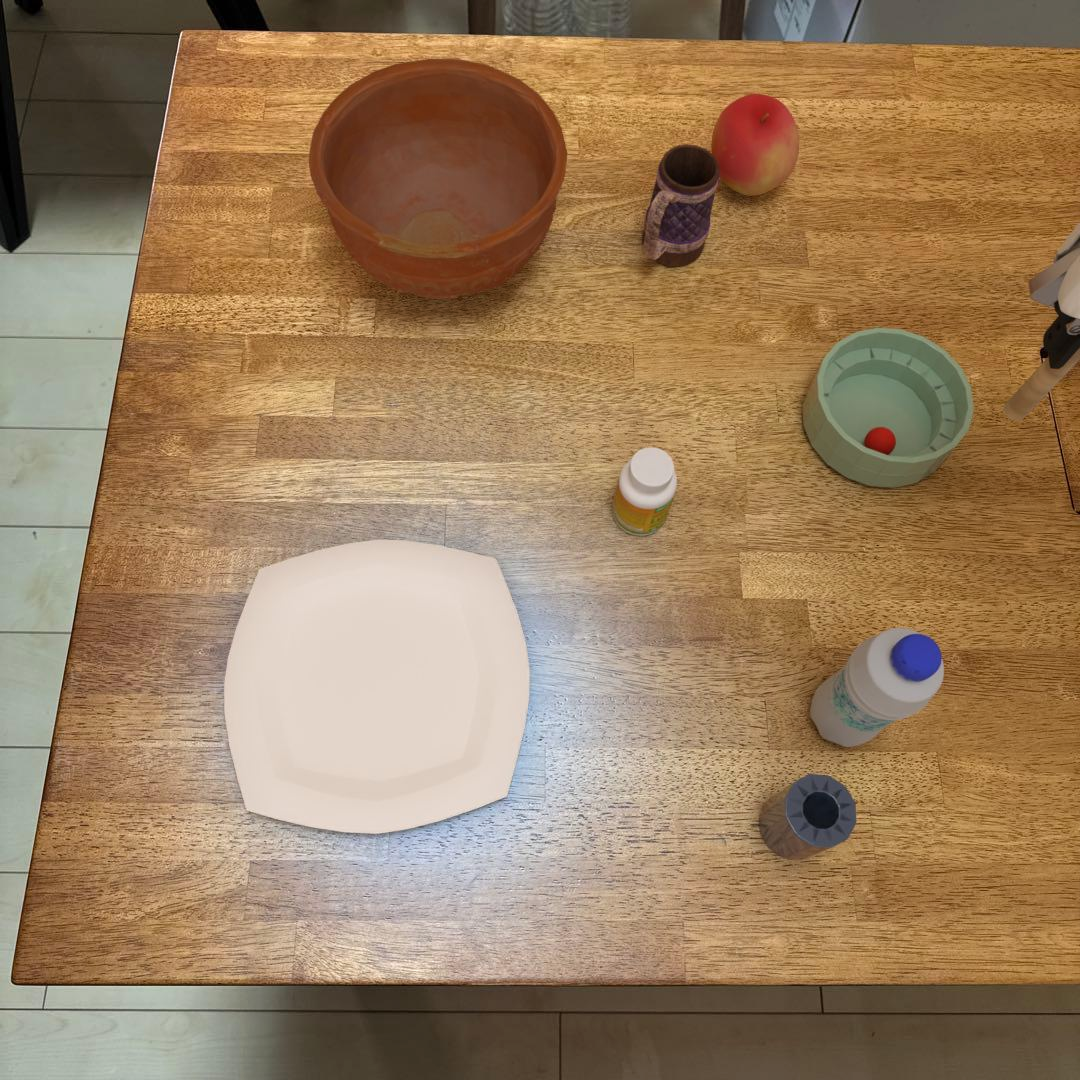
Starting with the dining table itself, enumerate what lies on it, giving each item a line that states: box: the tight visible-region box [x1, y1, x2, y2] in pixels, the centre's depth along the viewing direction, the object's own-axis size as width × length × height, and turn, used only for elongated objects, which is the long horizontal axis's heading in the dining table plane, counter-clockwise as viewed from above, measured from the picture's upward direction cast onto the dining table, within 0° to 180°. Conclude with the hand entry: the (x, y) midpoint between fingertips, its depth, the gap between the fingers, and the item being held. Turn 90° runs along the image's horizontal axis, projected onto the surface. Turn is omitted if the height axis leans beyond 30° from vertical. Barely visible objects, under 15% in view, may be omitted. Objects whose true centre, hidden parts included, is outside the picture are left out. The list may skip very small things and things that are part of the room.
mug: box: [641, 144, 720, 267], centre depth 107 cm, size 10×7×12 cm
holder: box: [758, 773, 858, 861], centre depth 84 cm, size 6×6×9 cm
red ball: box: [864, 427, 896, 455], centre depth 101 cm, size 3×3×3 cm
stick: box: [1003, 348, 1080, 422], centre depth 76 cm, size 2×2×14 cm
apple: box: [710, 93, 800, 197], centre depth 112 cm, size 10×10×10 cm
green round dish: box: [802, 327, 975, 489], centre depth 102 cm, size 15×15×6 cm
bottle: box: [809, 627, 945, 748], centre depth 83 cm, size 7×7×20 cm
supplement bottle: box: [611, 446, 678, 537], centre depth 95 cm, size 5×5×10 cm
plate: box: [223, 538, 531, 835], centre depth 91 cm, size 27×27×2 cm
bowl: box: [308, 58, 568, 301], centre depth 105 cm, size 25×25×15 cm
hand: (1070, 352), depth 74 cm, fingers closed on stick, 1 cm apart
